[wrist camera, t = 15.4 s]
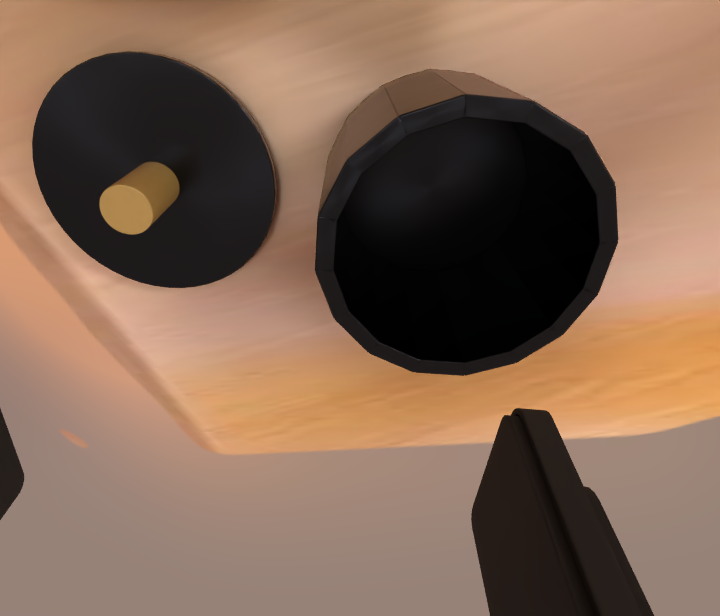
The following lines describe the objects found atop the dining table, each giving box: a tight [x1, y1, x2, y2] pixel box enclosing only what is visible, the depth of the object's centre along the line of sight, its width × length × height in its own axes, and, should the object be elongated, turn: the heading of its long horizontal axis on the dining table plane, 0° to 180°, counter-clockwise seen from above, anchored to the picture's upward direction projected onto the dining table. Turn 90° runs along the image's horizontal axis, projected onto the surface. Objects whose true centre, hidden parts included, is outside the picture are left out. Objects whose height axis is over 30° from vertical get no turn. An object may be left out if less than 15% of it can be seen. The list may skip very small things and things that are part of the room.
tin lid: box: [32, 51, 276, 288], centre depth 27 cm, size 14×14×6 cm
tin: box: [315, 69, 618, 376], centre depth 26 cm, size 13×13×10 cm
